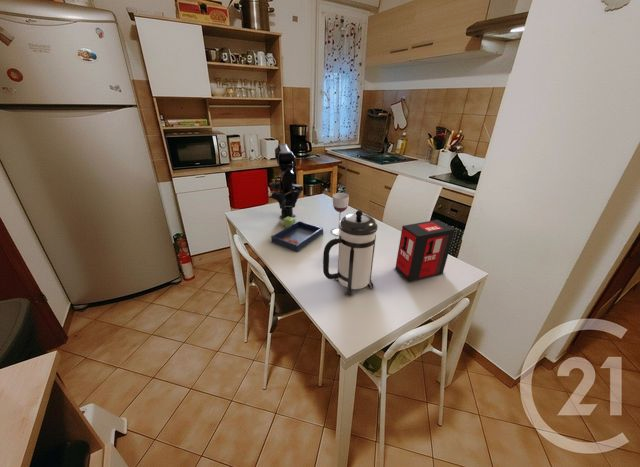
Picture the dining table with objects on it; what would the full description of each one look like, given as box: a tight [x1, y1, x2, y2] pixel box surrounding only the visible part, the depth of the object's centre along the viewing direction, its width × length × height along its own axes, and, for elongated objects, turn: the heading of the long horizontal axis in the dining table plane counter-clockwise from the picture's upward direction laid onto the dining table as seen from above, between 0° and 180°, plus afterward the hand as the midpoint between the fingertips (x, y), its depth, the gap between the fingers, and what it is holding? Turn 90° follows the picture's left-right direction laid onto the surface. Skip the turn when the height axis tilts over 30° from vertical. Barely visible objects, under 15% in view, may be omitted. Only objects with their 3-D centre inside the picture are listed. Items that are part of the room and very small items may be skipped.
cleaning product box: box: [394, 219, 456, 283], centre depth 102 cm, size 16×9×20 cm, turn 110°
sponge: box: [282, 216, 296, 228], centre depth 142 cm, size 4×5×4 cm
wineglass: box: [331, 192, 350, 236], centre depth 132 cm, size 8×9×20 cm
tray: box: [271, 220, 324, 253], centre depth 130 cm, size 22×16×3 cm
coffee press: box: [322, 209, 379, 296], centre depth 92 cm, size 17×16×30 cm
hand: (288, 207), depth 138 cm, fingers open, 9 cm apart
